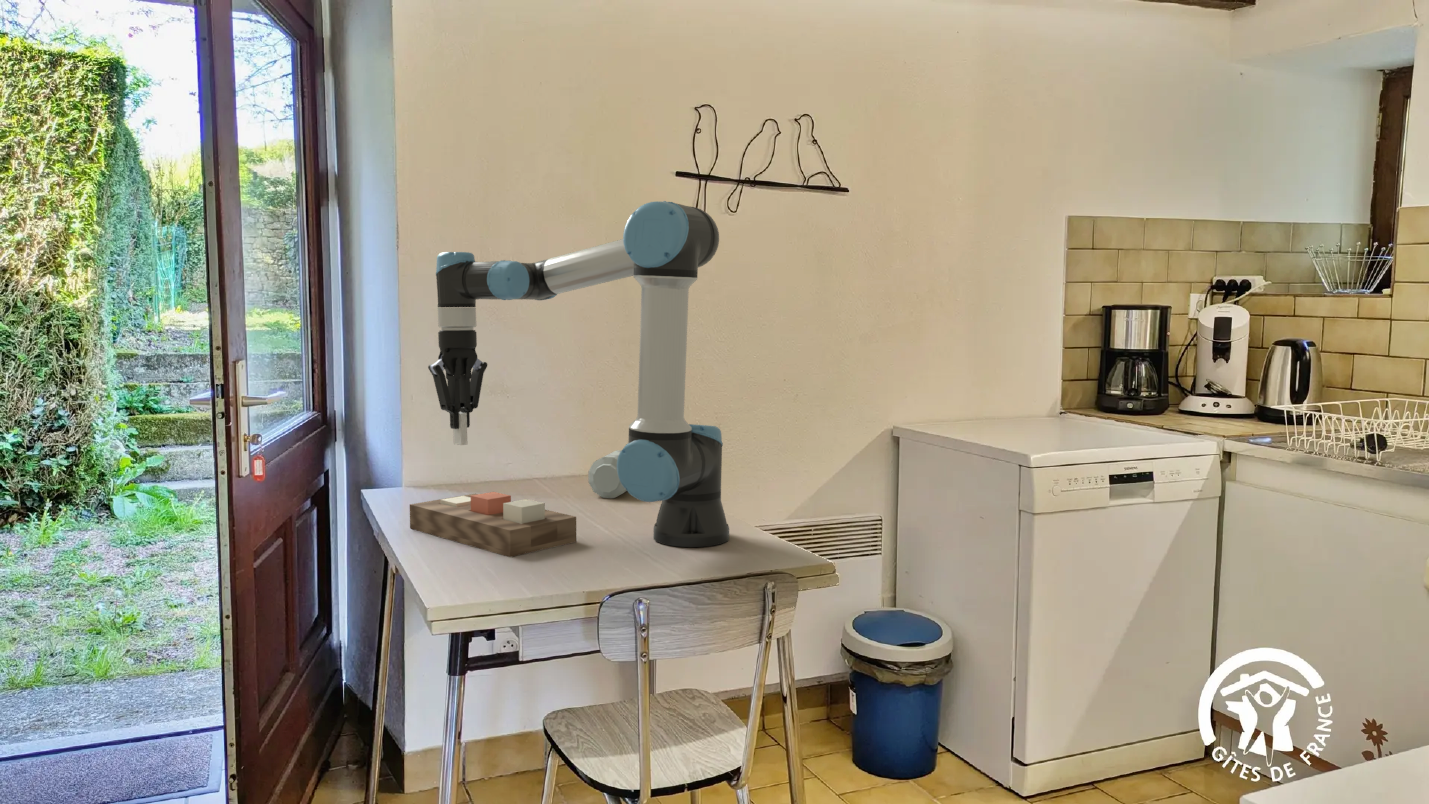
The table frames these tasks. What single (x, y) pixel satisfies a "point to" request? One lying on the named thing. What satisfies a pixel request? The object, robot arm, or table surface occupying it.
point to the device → (606, 476)
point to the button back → (457, 501)
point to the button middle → (489, 503)
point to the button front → (523, 511)
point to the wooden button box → (492, 528)
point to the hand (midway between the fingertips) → (460, 444)
